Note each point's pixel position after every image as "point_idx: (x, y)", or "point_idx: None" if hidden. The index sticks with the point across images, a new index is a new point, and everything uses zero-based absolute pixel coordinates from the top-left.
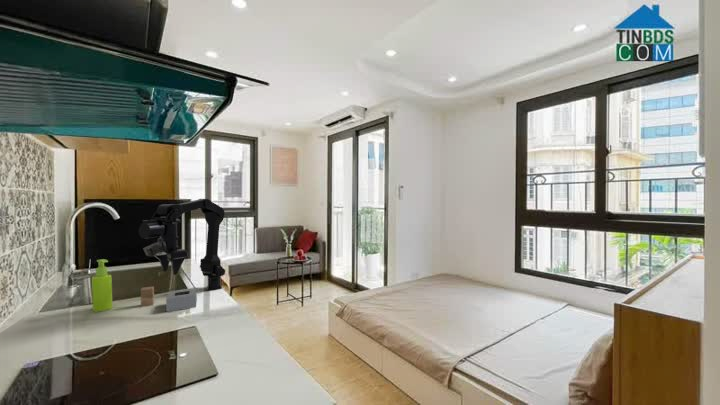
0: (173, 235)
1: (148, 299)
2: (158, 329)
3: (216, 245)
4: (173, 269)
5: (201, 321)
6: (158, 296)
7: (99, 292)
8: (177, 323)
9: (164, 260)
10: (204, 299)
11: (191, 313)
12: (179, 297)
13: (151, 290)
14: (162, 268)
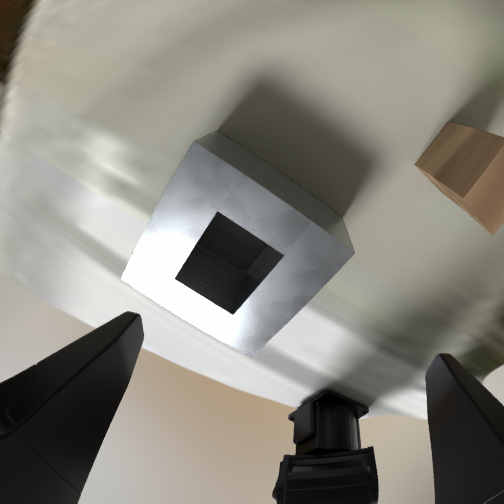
0: None
1: (443, 156)
2: (51, 34)
3: None
4: (65, 348)
5: (8, 167)
6: (494, 262)
7: None
8: (44, 102)
9: (479, 489)
10: None
11: (92, 187)
12: (155, 210)
13: (459, 187)
14: (468, 377)
